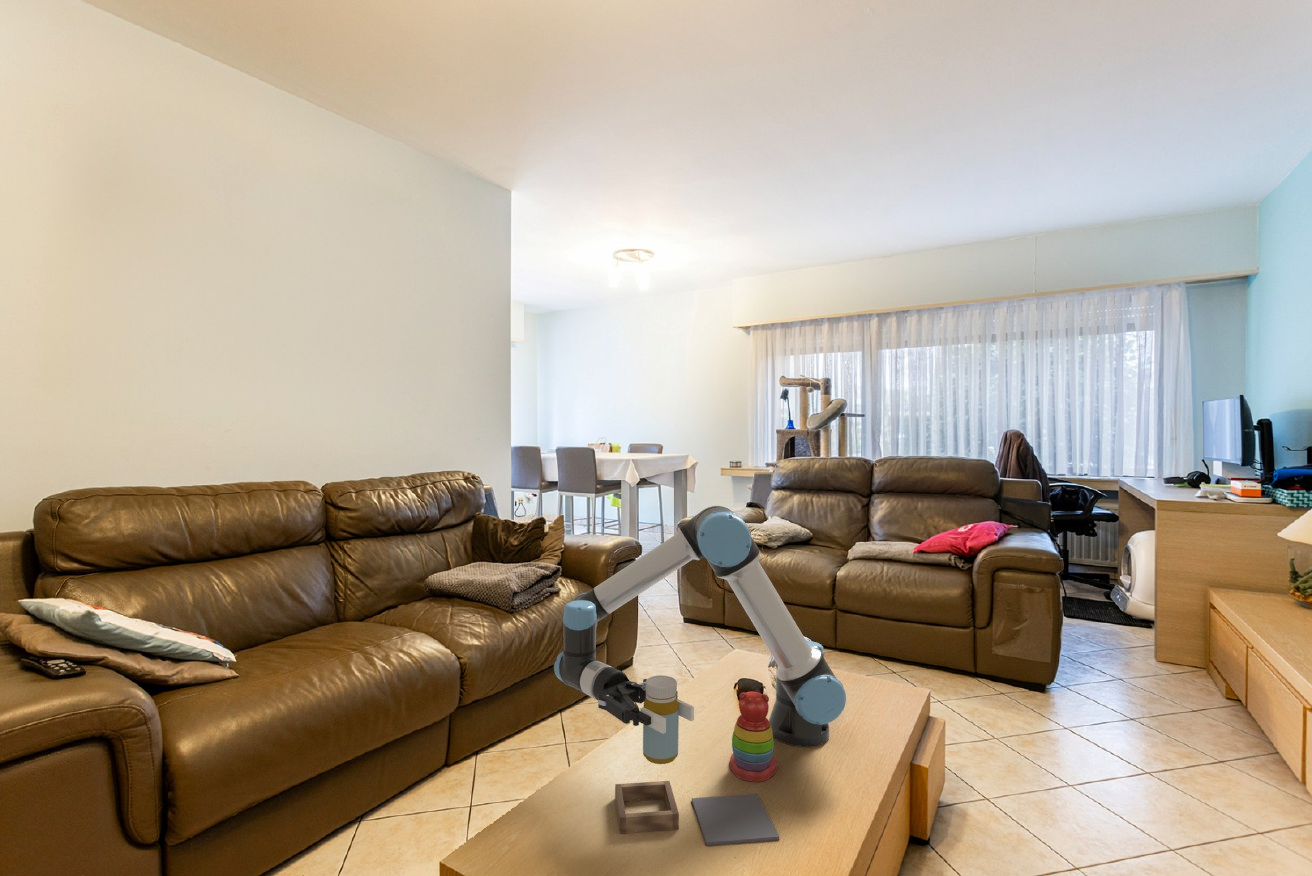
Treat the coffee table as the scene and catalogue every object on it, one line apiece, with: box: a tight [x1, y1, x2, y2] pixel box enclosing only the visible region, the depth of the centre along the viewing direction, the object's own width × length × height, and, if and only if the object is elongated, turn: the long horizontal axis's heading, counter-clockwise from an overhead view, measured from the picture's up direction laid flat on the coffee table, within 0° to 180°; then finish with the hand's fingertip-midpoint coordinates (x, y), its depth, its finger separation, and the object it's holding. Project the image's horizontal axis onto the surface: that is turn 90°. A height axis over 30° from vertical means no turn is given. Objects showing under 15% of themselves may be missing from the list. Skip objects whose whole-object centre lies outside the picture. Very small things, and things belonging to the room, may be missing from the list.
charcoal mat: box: [691, 793, 780, 846], centre depth 124 cm, size 14×14×1 cm
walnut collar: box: [614, 780, 680, 835], centre depth 125 cm, size 11×11×3 cm
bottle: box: [642, 675, 680, 765], centre depth 125 cm, size 7×7×15 cm
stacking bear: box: [729, 691, 778, 783], centre depth 142 cm, size 11×10×18 cm
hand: (678, 719), depth 121 cm, fingers closed on bottle, 7 cm apart
